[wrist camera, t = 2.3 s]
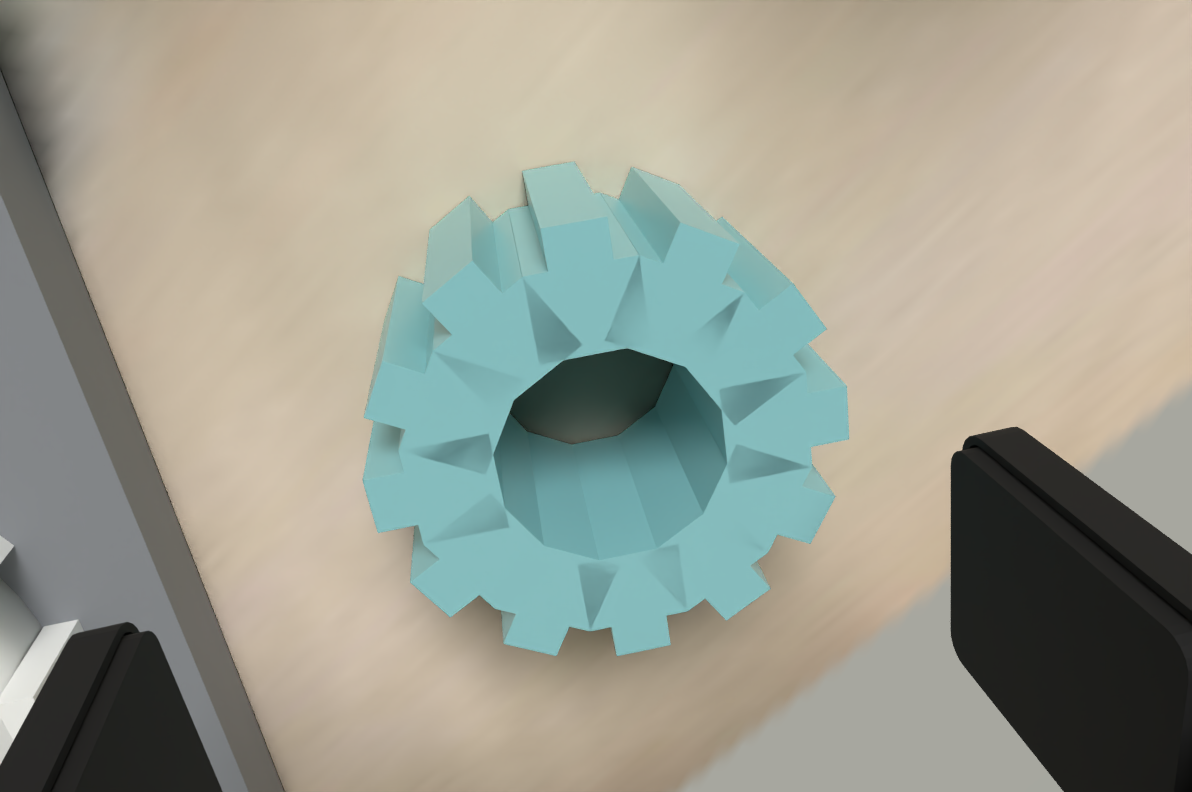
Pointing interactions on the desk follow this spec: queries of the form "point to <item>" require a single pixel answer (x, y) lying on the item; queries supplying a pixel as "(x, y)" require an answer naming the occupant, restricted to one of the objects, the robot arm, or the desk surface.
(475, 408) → the gear
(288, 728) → the desk surface
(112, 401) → the gear board
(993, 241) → the desk surface
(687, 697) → the desk surface
